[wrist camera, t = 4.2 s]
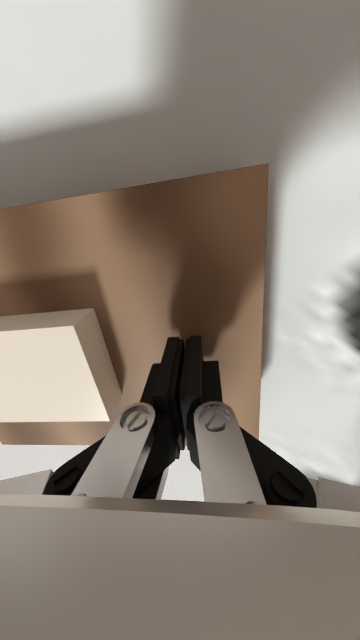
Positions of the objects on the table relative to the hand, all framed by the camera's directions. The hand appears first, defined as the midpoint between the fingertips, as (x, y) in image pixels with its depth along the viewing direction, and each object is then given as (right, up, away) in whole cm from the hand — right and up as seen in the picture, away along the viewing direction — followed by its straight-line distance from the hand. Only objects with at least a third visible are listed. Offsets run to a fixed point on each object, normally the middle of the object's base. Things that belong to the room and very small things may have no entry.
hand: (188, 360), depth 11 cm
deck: (-6, +2, +5) cm, 8 cm away
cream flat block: (-9, 0, +2) cm, 9 cm away
